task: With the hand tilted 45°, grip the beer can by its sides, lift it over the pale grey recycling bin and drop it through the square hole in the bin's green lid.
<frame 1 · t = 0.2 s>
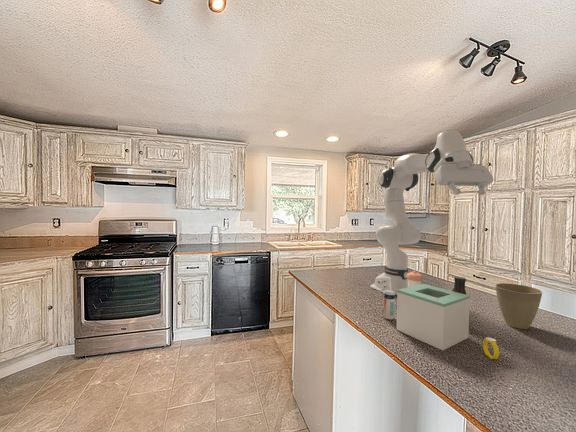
hand: (470, 194, 96), 54 cm above the counter, tool tilted 30°, fingers open, 8 cm apart
recycling bin: (431, 333, 102), on the counter
pepper shaker: (413, 311, 124), on the counter
beer can: (388, 318, 116), on the counter
watch: (490, 357, 86), on the counter
sauce bottle: (457, 324, 110), on the counter
plant pot: (516, 325, 110), on the counter
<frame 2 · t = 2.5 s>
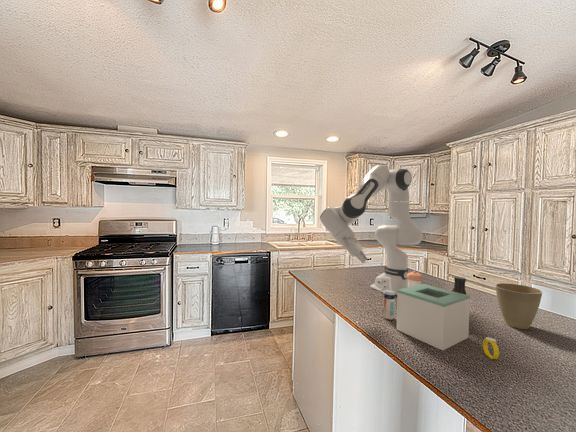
hand: (365, 260, 119), 25 cm above the counter, tool tilted 40°, fingers open, 8 cm apart
nothing on the counter moved.
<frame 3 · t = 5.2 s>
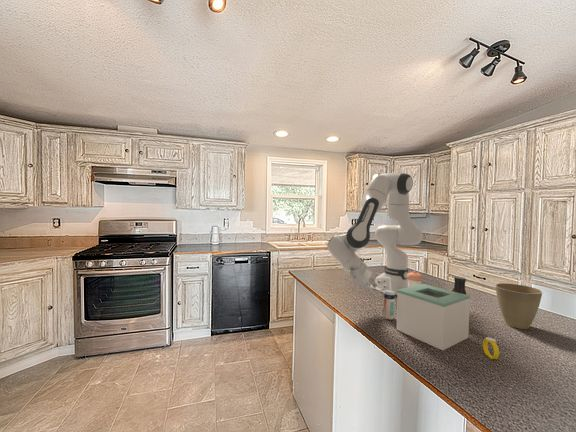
hand: (374, 289, 118), 12 cm above the counter, tool tilted 45°, fingers open, 8 cm apart
nothing on the counter moved.
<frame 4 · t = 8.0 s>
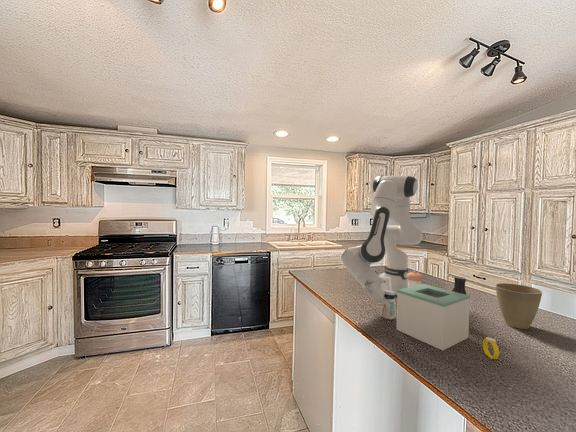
hand: (390, 303, 115), 6 cm above the counter, tool tilted 45°, fingers closed on beer can, 5 cm apart
beer can: (388, 318, 116), on the counter, touching gripper
everything else where it was.
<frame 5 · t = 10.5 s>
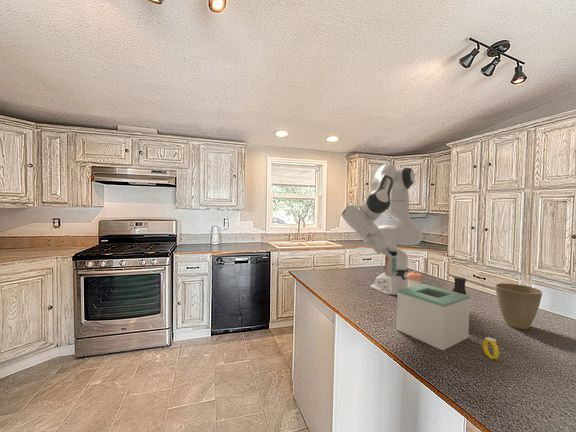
hand: (392, 257, 115), 27 cm above the counter, tool tilted 45°, fingers closed on beer can, 5 cm apart
beer can: (390, 275, 115), point 19 cm above the counter, touching gripper
everything else where it was.
when the fingers open (24 cm above the counter, at t = 13.1 s): beer can drops 12 cm, resting on recycling bin.
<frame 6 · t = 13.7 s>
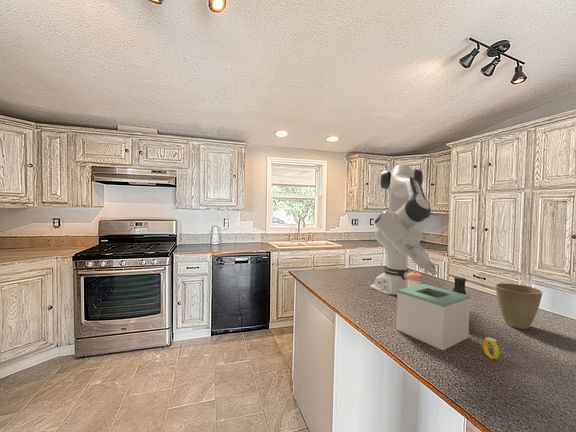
hand: (435, 271, 101), 24 cm above the counter, tool tilted 45°, fingers open, 8 cm apart
beer can: (431, 330, 101), point 1 cm above the counter, touching recycling bin
everything else where it was.
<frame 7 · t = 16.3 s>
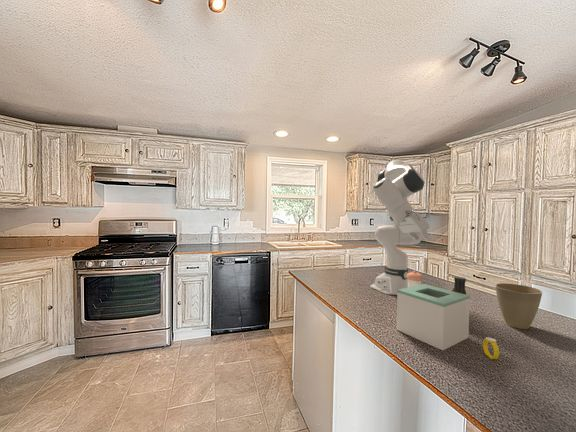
hand: (422, 239, 108), 36 cm above the counter, tool tilted 35°, fingers open, 8 cm apart
nothing on the counter moved.
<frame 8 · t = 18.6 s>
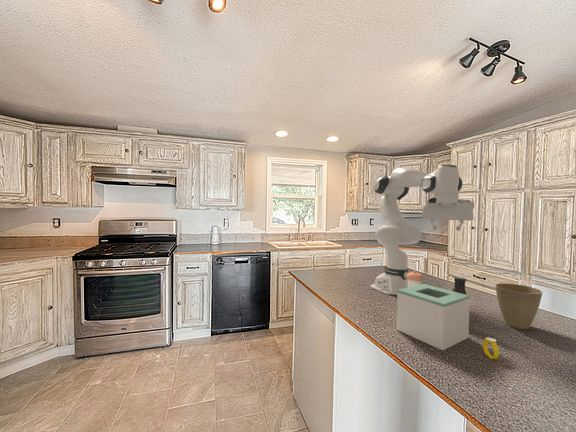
hand: (446, 229, 120), 39 cm above the counter, tool pointing down, fingers open, 8 cm apart
nothing on the counter moved.
at the end: beer can inside the target area on the recycling bin (0.4 cm from its centre), point 1.3 cm above the recycling bin's base; the gripper is holding nothing; beer can moved 18.4 cm from its start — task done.
